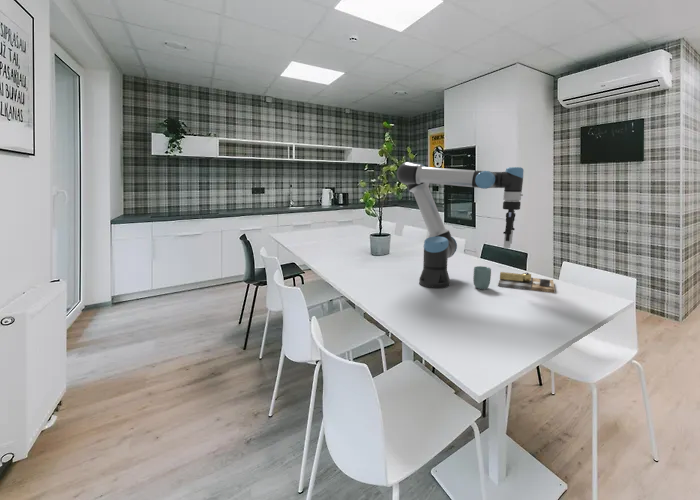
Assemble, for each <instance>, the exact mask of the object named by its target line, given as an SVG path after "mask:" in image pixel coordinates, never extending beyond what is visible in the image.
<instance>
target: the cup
mask: <svg viewBox="0 0 700 500" xmlns="http://www.w3.org/2000/svg"><path fill="white" fill-rule="evenodd" d="M491 276H492V268H491V267H489V266H483V265H480V266H474V267H473V285H474V287H475V288H476V289H477V290H478V289H479V290H486V289H488V288H489V287H490V284H491V279H492V278H491Z"/></svg>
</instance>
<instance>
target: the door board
mask: <svg viewBox="0 0 700 500" xmlns="http://www.w3.org/2000/svg"><path fill="white" fill-rule="evenodd" d="M497 286H498V287H500V288H501V287H502V288H503V287H504V288H511V289H518V290H525V291H535V292H543V293H544V292H545V293H553V294H555V292H556V289H555V283H554V279H548V278H538V277H532V276H531V282H523V281H514V280H505V279H500V278H499V280H498V283H497Z"/></svg>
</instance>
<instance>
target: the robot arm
mask: <svg viewBox="0 0 700 500" xmlns="http://www.w3.org/2000/svg"><path fill="white" fill-rule="evenodd" d="M524 172H525V171H524V168H523V167H521V166H515V167H514V166H512V167H509V166H508V167H506V170H505V171H489V170H473V169H460V168H459V169H458V168H446V167H445V168H443V167H431V166H425V165H424V164H422V163H420V162H414V161H412V162H411V161H405V162H403V163H401V164H400V165H399V166H398V167H397V171H396V177H397V179H398V181H399V182H400V183H401V184H403V185H406V186H407V190H408V191H409V192H410V193H412V194H413V196H414V199H415V201H416V204H417V206H418V208H419V212H420V214H421V217H422V219H423V222H424V224H425V226H426V228H427V232H428V234H429V235H428V237H427V238H425V240H424V242H423V268H422V271H421V274H420V277H419V279H418V280H419V285H420V284H421V286H423V287H426V288H430V289H431V288H432V289H443V288H445V289H446V288H448V287H450V285H451V279H450V276H449V273H448V272H449V271H448V260H449V258H451V257H453V256H454V254H455V253H456V252H457V250H458V244H457V240H456V239H455V238H454V237H453V236H452V235H451V232H450V230H449V229H447V228H446V227H445V224H444V223H443V221H442V218H441V214H440V213H439V210H438V206H437V205H436V203H435V199H434V197H433V195H432V193H431V190H430V187H429V186H430V184H434V185H435V184H436V185H446V186H457V187H469V188H478V189H484V190H485V189H503V190H504V191H503V202H502V209H503V210H507V212H506V213H505V222H506V223H505V230H504V231H503V235H504V239H503V248H504V249H511V244H512V243H513V233H514V231H515V228H514V222H515V219H516V218H515V217H516V215H517V214H516V213H515V211H516V210H517V211H518V210H521V199H522V197H523V196H524V194H523V193H522V190H523V184H524Z"/></svg>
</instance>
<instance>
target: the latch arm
mask: <svg viewBox="0 0 700 500" xmlns="http://www.w3.org/2000/svg"><path fill="white" fill-rule="evenodd" d="M531 277H532V274H531V273H529V272H523V273H514V272H504V271H500V274H499V280H500V279H505V280H514V281H523V282H531Z"/></svg>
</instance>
